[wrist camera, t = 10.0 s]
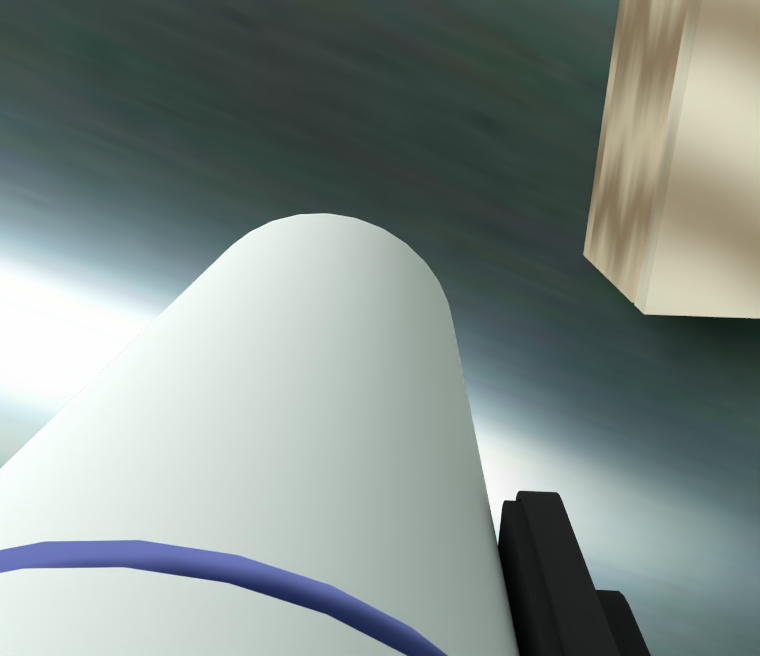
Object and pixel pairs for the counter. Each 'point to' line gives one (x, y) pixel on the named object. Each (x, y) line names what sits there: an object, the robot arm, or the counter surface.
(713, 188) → the lid
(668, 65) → the wooden box
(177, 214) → the counter surface
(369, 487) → the cylindrical container
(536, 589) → the robot arm
